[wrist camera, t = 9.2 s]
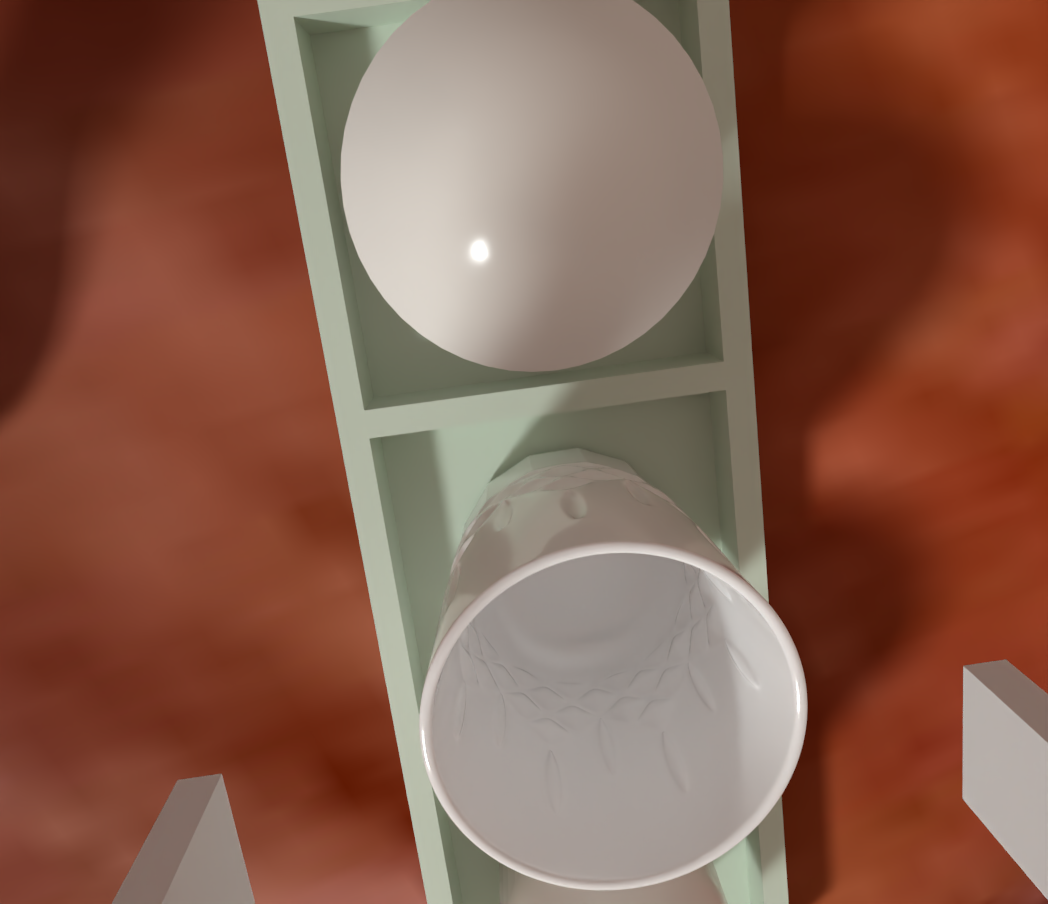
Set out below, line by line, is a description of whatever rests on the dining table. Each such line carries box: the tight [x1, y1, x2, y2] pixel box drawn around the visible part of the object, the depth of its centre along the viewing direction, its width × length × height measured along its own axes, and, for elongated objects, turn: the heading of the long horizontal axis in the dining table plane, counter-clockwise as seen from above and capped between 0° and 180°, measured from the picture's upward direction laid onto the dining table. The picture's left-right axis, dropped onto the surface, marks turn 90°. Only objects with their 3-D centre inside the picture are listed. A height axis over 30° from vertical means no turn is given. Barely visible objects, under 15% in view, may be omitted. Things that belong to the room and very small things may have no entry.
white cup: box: [419, 448, 808, 890], centre depth 22 cm, size 8×8×10 cm
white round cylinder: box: [341, 0, 723, 372], centre depth 20 cm, size 7×7×9 cm
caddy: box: [257, 0, 789, 904], centre depth 27 cm, size 33×12×3 cm, turn 7°
